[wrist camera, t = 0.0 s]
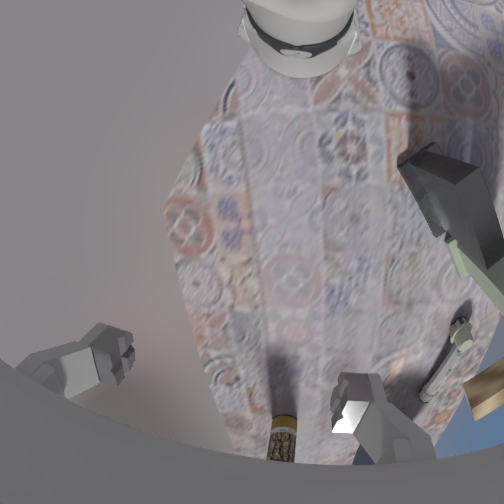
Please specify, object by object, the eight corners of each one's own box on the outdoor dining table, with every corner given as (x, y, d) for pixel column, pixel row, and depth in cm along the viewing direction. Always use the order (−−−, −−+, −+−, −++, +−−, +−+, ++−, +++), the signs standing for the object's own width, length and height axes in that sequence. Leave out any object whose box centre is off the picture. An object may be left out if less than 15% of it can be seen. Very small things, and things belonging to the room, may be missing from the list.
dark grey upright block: (433, 234, 45) (476, 281, 30) (396, 167, 42) (441, 190, 27) (465, 210, 42) (517, 248, 27) (432, 141, 39) (487, 155, 24)
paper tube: (275, 412, 70) (262, 495, 47) (300, 416, 69) (293, 499, 47) (270, 424, 73) (257, 502, 50) (293, 428, 72) (286, 506, 50)
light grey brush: (417, 404, 58) (465, 339, 45) (413, 383, 64) (455, 316, 50) (434, 403, 57) (483, 338, 44) (429, 382, 63) (472, 316, 49)
